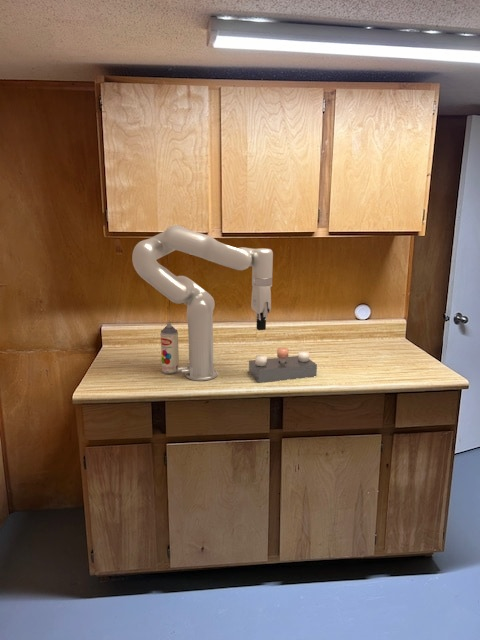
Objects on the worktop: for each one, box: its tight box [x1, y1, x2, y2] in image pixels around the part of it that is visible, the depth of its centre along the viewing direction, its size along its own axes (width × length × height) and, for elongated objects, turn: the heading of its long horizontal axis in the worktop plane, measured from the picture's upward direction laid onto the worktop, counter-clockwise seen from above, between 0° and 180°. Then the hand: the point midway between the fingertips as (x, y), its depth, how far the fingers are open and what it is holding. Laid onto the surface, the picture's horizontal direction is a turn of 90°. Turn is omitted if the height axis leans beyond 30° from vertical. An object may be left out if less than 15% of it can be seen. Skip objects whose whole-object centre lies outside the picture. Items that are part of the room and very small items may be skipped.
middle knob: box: [276, 347, 289, 364], centre depth 182 cm, size 4×4×8 cm
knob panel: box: [248, 355, 318, 384], centre depth 183 cm, size 24×12×5 cm, turn 107°
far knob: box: [297, 350, 310, 362], centre depth 185 cm, size 4×4×8 cm
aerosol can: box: [160, 322, 180, 375], centre depth 184 cm, size 7×7×20 cm
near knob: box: [254, 354, 268, 366], centre depth 180 cm, size 4×4×8 cm
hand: (261, 329), depth 177 cm, fingers closed
